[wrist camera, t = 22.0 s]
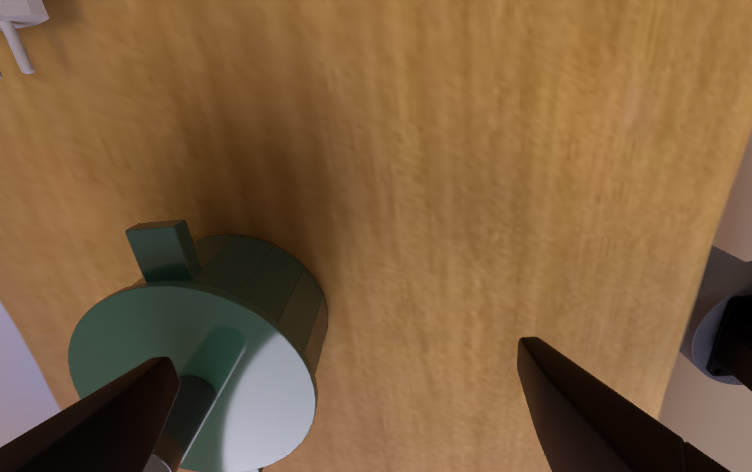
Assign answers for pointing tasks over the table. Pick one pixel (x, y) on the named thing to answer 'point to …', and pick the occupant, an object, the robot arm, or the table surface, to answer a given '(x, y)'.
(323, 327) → the pot
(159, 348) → the lid
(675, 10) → the table surface
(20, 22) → the charger
